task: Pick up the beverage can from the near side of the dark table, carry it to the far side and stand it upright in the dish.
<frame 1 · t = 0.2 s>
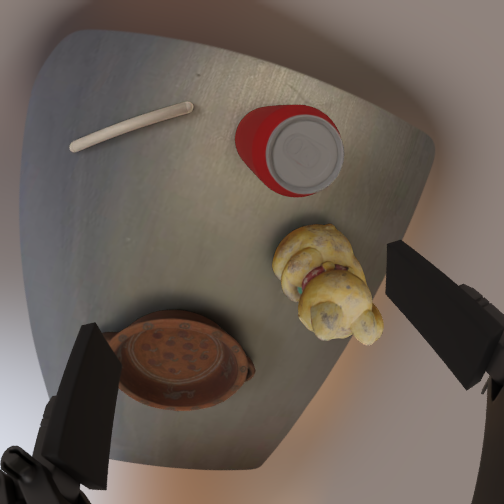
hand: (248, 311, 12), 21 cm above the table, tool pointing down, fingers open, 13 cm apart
decorative figurine: (306, 246, 36), on the table
dish: (176, 346, 39), on the table
wooden stick: (129, 125, 26), on the table
beverage can: (266, 138, 30), on the table
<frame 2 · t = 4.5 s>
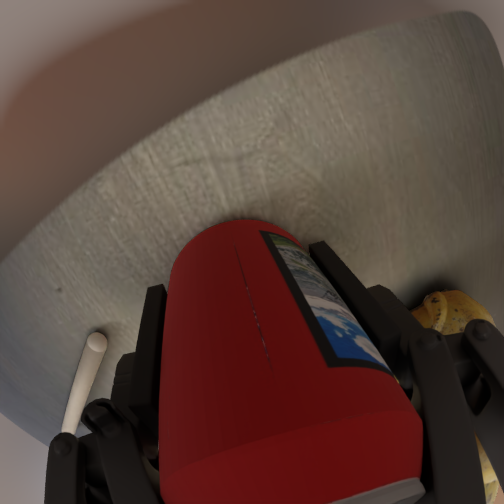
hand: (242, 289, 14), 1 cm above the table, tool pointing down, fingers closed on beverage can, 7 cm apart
decorative figurine: (412, 322, 19), on the table
wooden stick: (80, 390, 17), on the table
beverage can: (238, 276, 15), on the table, touching gripper
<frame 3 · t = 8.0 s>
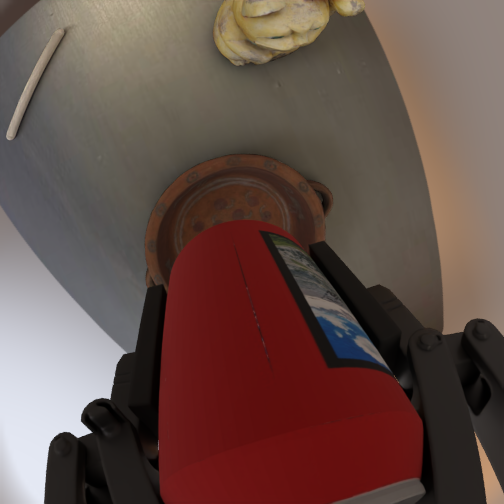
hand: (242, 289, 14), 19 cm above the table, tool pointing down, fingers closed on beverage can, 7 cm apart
decorative figurine: (254, 31, 25), on the table
dish: (232, 228, 34), on the table
wooden stick: (34, 84, 22), on the table
beverage can: (238, 276, 15), point 18 cm above the table, touching gripper
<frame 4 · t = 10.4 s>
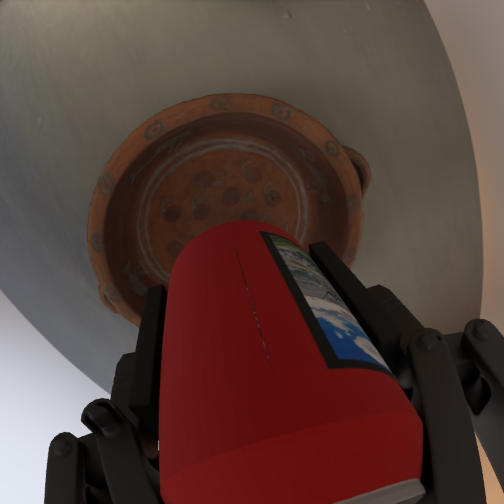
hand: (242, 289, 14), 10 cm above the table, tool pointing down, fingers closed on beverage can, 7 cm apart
dish: (222, 216, 23), on the table
beverage can: (239, 277, 15), point 9 cm above the table, touching gripper
when the fingers open (6 cm above the table, at t = 11.8 s): beverage can stays where it is, resting on dish.
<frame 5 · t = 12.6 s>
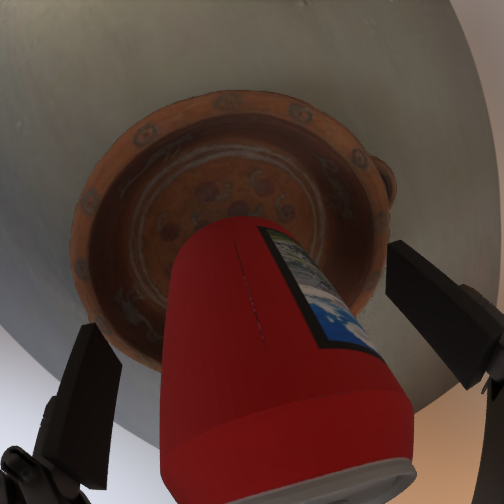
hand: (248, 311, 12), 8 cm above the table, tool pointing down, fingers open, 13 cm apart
dish: (227, 233, 20), on the table, touching beverage can
beverage can: (238, 271, 16), point 5 cm above the table, touching dish
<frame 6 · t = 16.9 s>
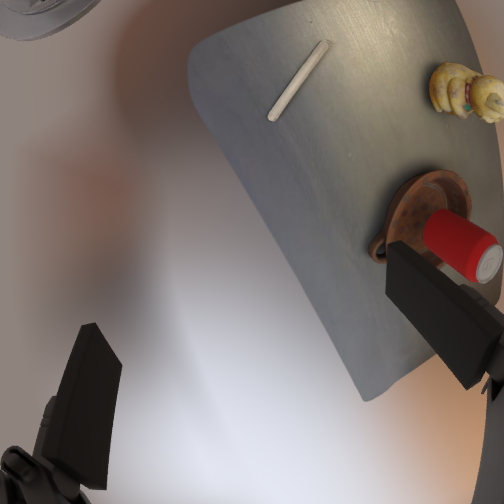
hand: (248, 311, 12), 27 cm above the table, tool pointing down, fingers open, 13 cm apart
decorative figurine: (439, 87, 35), on the table
dish: (416, 215, 44), on the table, touching beverage can
wooden stick: (298, 78, 32), on the table
beverage can: (435, 227, 40), point 5 cm above the table, touching dish
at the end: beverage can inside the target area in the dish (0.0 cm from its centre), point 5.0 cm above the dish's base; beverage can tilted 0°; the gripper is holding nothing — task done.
